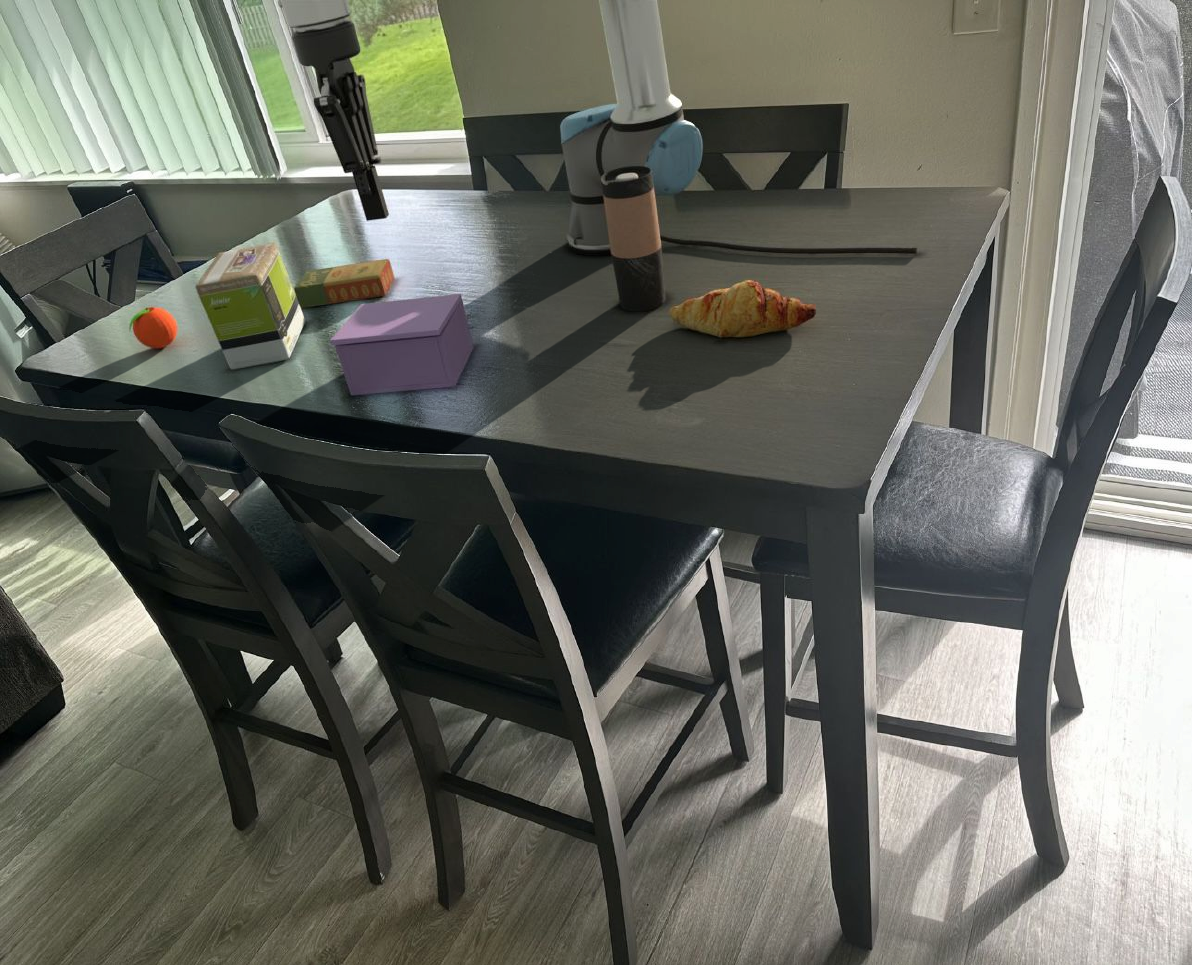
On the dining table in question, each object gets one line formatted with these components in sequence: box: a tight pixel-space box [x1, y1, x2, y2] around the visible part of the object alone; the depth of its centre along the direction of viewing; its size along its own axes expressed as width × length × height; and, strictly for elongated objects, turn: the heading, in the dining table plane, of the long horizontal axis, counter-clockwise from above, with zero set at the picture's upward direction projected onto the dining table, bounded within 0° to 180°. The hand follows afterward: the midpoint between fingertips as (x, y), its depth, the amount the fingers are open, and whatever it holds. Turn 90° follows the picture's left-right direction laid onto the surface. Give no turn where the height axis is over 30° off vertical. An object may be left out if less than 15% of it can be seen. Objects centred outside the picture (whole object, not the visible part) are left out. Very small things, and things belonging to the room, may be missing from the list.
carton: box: [293, 258, 395, 309], centre depth 168 cm, size 8×16×4 cm, turn 88°
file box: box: [334, 298, 475, 396], centre depth 135 cm, size 13×16×8 cm
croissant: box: [669, 279, 817, 338], centre depth 132 cm, size 21×10×8 cm, turn 70°
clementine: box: [128, 306, 178, 349], centre depth 159 cm, size 8×7×7 cm
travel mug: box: [601, 166, 666, 312], centre depth 140 cm, size 8×8×20 cm
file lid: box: [329, 293, 463, 346], centre depth 132 cm, size 13×16×1 cm
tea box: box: [195, 241, 306, 370], centre depth 150 cm, size 15×10×15 cm, turn 5°
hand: (377, 217), depth 124 cm, fingers closed
